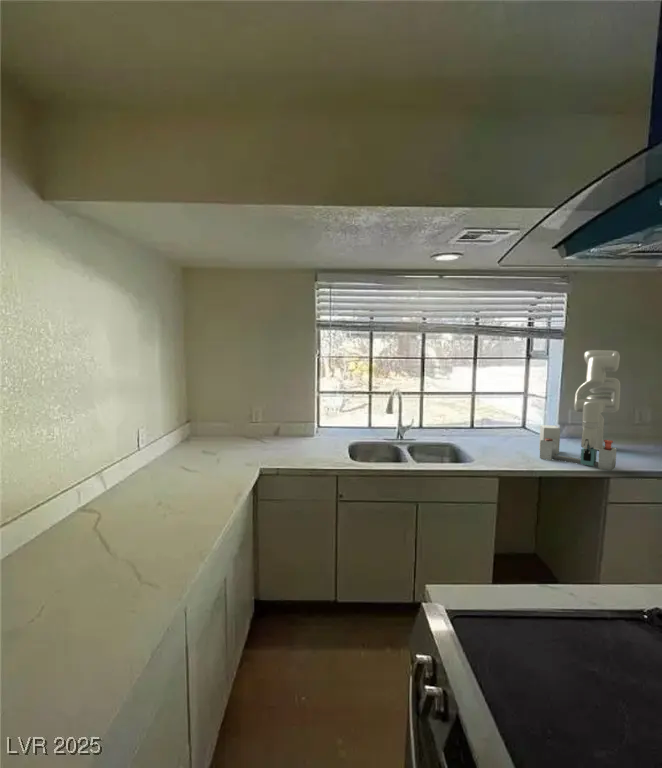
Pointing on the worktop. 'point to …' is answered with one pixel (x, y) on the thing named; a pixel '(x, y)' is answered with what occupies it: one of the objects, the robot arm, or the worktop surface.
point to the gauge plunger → (608, 444)
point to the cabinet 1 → (548, 448)
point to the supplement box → (550, 434)
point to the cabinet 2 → (607, 458)
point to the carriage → (593, 457)
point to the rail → (571, 460)
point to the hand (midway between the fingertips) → (588, 459)
